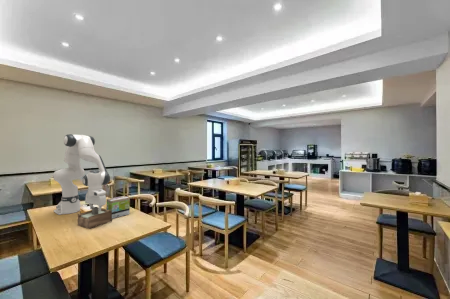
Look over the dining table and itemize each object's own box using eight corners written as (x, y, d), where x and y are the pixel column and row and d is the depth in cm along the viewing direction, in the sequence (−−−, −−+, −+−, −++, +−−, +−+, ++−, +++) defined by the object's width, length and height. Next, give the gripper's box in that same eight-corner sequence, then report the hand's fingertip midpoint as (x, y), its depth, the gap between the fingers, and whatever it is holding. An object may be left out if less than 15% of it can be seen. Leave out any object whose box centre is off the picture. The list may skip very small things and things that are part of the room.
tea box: (111, 219, 160) (111, 201, 160) (106, 216, 166) (106, 198, 166) (130, 214, 172) (129, 197, 172) (124, 211, 178) (124, 195, 178)
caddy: (77, 225, 148) (77, 214, 148) (100, 217, 163) (99, 208, 163) (89, 229, 141) (89, 217, 141) (111, 221, 156) (111, 210, 156)
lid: (80, 216, 149) (80, 208, 149) (99, 211, 161) (98, 204, 161) (90, 219, 143) (90, 211, 143) (108, 213, 155) (108, 206, 155)
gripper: (82, 191, 153) (83, 209, 154) (99, 193, 144) (99, 212, 145) (91, 189, 159) (91, 206, 159) (107, 192, 150) (108, 210, 150)
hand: (95, 209), depth 152 cm, fingers open, 8 cm apart
